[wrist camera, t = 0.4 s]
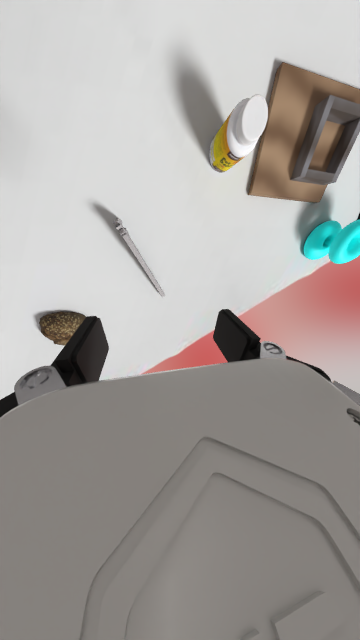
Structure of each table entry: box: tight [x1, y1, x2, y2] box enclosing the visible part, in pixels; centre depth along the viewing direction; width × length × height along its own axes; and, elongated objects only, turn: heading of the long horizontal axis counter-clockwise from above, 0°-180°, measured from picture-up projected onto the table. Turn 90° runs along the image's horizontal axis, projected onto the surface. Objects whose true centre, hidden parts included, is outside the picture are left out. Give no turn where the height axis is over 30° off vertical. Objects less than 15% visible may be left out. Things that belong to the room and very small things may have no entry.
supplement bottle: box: [209, 95, 268, 173], centre depth 23 cm, size 6×6×10 cm
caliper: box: [114, 219, 165, 297], centre depth 33 cm, size 20×1×6 cm, turn 25°
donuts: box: [304, 219, 360, 264], centre depth 37 cm, size 10×10×10 cm
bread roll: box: [39, 312, 86, 345], centre depth 38 cm, size 13×12×5 cm
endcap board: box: [248, 62, 360, 203], centre depth 28 cm, size 16×20×4 cm
